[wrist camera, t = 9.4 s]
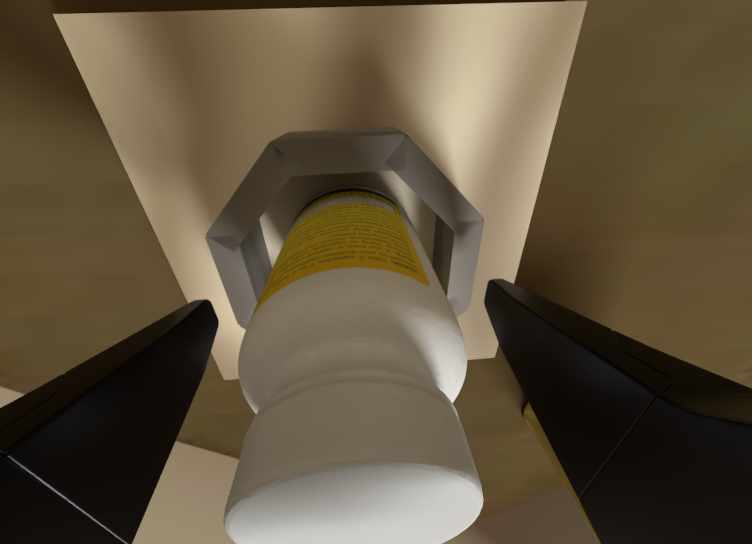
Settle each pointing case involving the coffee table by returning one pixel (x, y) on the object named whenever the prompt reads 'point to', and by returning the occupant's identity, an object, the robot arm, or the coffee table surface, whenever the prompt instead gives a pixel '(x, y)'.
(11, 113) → the coffee table surface
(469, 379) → the coffee table surface
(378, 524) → the supplement bottle
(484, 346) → the socket plate
